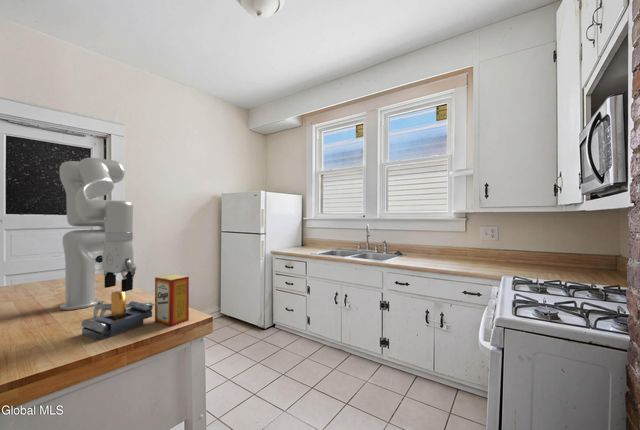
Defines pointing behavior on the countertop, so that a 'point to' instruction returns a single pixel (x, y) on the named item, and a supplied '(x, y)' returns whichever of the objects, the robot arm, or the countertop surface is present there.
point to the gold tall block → (118, 305)
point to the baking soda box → (171, 299)
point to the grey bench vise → (117, 322)
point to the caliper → (107, 307)
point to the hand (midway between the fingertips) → (118, 288)
